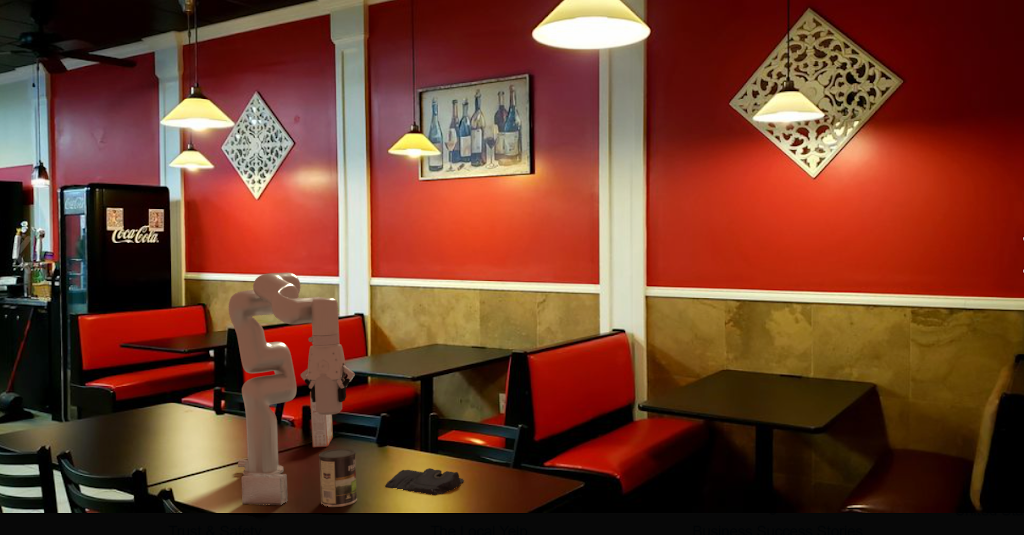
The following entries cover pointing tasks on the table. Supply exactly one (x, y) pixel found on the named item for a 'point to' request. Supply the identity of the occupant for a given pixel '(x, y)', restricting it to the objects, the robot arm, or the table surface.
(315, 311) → the robot arm
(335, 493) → the coffee can
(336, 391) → the can
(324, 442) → the cracker box
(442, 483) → the dark slate chunk
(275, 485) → the pinkish brown box
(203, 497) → the table surface
